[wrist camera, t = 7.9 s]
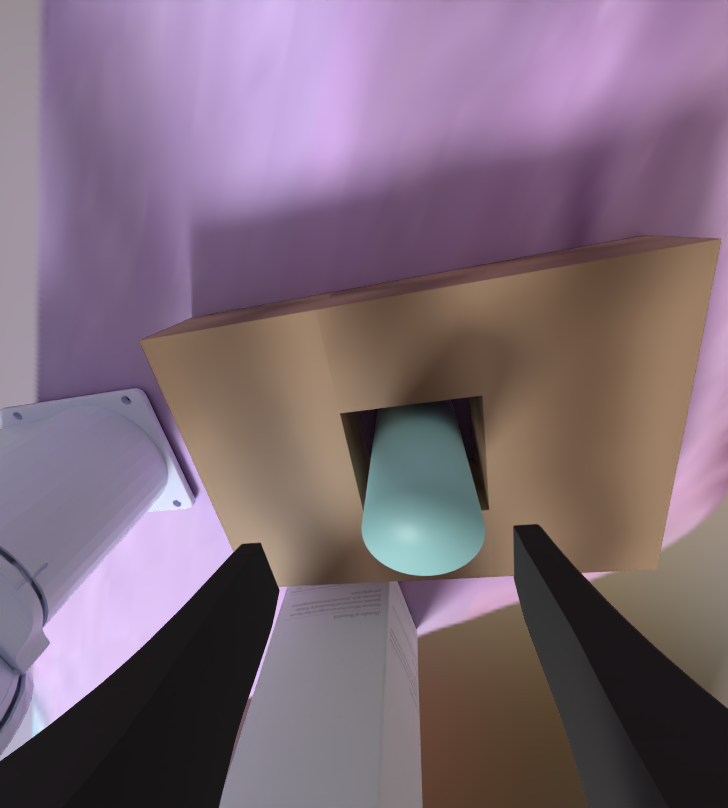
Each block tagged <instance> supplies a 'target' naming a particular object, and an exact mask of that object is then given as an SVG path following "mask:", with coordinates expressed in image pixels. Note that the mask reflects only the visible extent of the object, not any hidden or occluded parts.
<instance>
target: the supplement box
mask: <svg viewBox="0 0 728 808" xmlns="http://www.w3.org/2000/svg"><path fill="white" fill-rule="evenodd" d="M417 655H418V652H417V630H416V628H415V625H414V622H413V619H412V617H411V614H410V612H409V609H408V607H407V604H406V602H405V599H404V597H403V594H402V591H401V589H400V586H399V584H398V581H394V582H372V583H351V584H329V585H308V586H288V587H287V590H286V593H285V596H284V599H283V602H282V606H281V609H280V612H279V615H278V618H277V621H276V624H275V628H274V631H273V634H272V637H271V640H270V644H269V647H268V650H267V653H266V656H265V659H264V663H263V666H262V669H261V672H260V675H259V679H258V682H257V685H256V688H255V691H254V694H253V698H252V701H251V704H250V707H249V710H248V714H247V717H246V720H245V723H244V726H243V730H242V733H241V736H240V739H239V742H238V745H237V749H236V752H235V755H234V758H233V761H232V764H231V767H230V770H229V774H228V777H227V780H226V783H225V787H224V789H223V793H222V797H221V801H220V806H219V808H422V782H421V752H420V723H419V722H420V721H419V695H418V694H419V693H418V656H417Z"/></svg>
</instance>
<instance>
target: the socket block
mask: <svg viewBox="0 0 728 808" xmlns="http://www.w3.org/2000/svg"><path fill="white" fill-rule="evenodd" d="M720 244H721V239H715V238H692V237H669V236H645V235H644V236H639V237H633V238H628V239H622V240H617V241H611V242H606V243H600V244H595V245H589V246H584V247H578V248H573V249H567V250H562V251H556V252H551V253H545V254H540V255H534V256H529V257H523V258H518V259H512V260H507V261H501V262H496V263H490V264H485V265H479V266H474V267H468V268H463V269H457V270H452V271H446V272H441V273H435V274H430V275H424V276H419V277H413V278H408V279H402V280H397V281H391V282H386V283H380V284H375V285H369V286H364V287H358V288H353V289H347V290H342V291H336V292H331V293H325V294H320V295H314V296H309V297H303V298H298V299H292V300H287V301H281V302H276V303H270V304H265V305H259V306H254V307H248V308H243V309H237V310H232V311H227V312H221V313H216V314H210V315H205V316H199V317H194V318H190V319H188V320H185V321H183V322H181V323H179V324H176V325H174V326H172V327H169V328H167V329H165V330H163V331H160V332H158V333H156V334H153V335H151V336H149V337H146V338H144V339H142V340H140V341H139V342H140V344H141V346H142V349H143V351H144V353H145V355H146V358H147V360H148V362H149V364H150V367H151V369H152V371H153V373H154V375H155V378H156V380H157V382H158V384H159V387H160V389H161V391H162V393H163V395H164V398H165V400H166V402H167V404H168V407H169V409H170V411H171V413H172V416H173V418H174V420H175V422H176V424H177V427H178V429H179V431H180V433H181V436H182V438H183V440H184V442H185V445H186V447H187V449H188V451H189V453H190V456H191V458H192V460H193V462H194V465H195V467H196V469H197V471H198V473H199V476H200V478H201V480H202V482H203V485H204V487H205V489H206V491H207V494H208V496H209V498H210V500H211V502H212V505H213V507H214V509H215V511H216V514H217V516H218V518H219V520H220V523H221V525H222V527H223V529H224V531H225V534H226V536H227V538H228V540H229V543H230V545H231V547H232V549H233V551H235V550H236V549H237V548H238V547H239V546H240V545H241V544H246V543H261V544H262V547H263V550H264V552H265V555H266V557H267V560H268V562H269V565H270V567H271V570H272V572H273V575H274V577H275V580H276V583H277V585H278V587H286V586H308V585H329V584H351V583H372V582H394V581H415V580H437V579H458V578H480V577H501V576H514V541H513V526H514V525H529V524H538V525H539V526H541V527H542V528H543V530H544V531H545V532H546V533H547V535H548V536H549V537H550V538H551V539H552V541H553V542H554V543H555V544H556V545H557V547H558V548H559V549H560V550H561V551H562V552H563V554H564V555H565V556H566V557H567V558H568V559H569V560H570V561H571V563H572V564H573V565H574V566H575V567H576V568H577V569H578V570H579V572H580V573H587V572H608V571H627V570H629V571H630V570H651V569H657V566H658V561H659V556H660V551H661V546H662V541H663V536H664V531H665V526H666V520H667V515H668V510H669V505H670V500H671V495H672V490H673V485H674V479H675V474H676V469H677V464H678V459H679V454H680V449H681V444H682V438H683V433H684V428H685V423H686V418H687V413H688V408H689V403H690V397H691V392H692V387H693V382H694V377H695V372H696V367H697V361H698V356H699V351H700V346H701V341H702V336H703V331H704V326H705V320H706V315H707V310H708V305H709V300H710V295H711V290H712V285H713V279H714V274H715V269H716V264H717V259H718V254H719V249H720ZM466 397H469V399H470V412H471V425H472V438H473V452H474V459H468V463H469V467H470V470H471V474H472V478H473V482H474V485H475V489H476V493H477V496H478V500H479V504H480V507H481V511H482V515H483V519H484V523H485V532H486V534H485V540H484V542H483V545H482V547H481V549H480V551H479V552H478V553H477V555H476V556H475V557H474V558H473V559H472V560H471V561H470V562H468V563H467V564H466V565H464V566H462V567H460V568H459V569H456V570H454V571H451V572H448V573H445V574H440V575H433V576H417V575H410V574H406V573H402V572H399V571H396V570H393V569H391V568H389V567H387V566H386V565H384V564H382V563H381V562H380V561H378V560H377V559H376V558H375V557H374V556H373V555H372V554H371V553H370V551H369V550H368V548H367V547H366V545H365V543H364V540H363V537H362V528H361V526H362V519H363V512H364V505H365V497H366V490H367V483H368V476H369V469H370V458H369V453H368V448H367V444H366V439H365V434H364V430H363V425H362V420H361V416H360V411H363V410H371V409H379V408H387V407H395V406H403V405H411V404H419V403H427V402H435V401H442V400H450V399H458V398H466Z"/></svg>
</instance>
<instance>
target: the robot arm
mask: <svg viewBox="0 0 728 808" xmlns="http://www.w3.org/2000/svg"><path fill="white" fill-rule="evenodd" d="M126 397H128V398H129V399H130V401H131V402H130V401H129V400H128V399H127V398H126ZM0 425H1V426H2V429H0V757H1V756H2V754H3V752H4V751H5V749H6V748H7V747H8V745H9V743H10V742H11V740H12V739H13V737H14V735H15V733H16V732H17V730H18V729H19V727H20V725H21V723H22V720H23V719H24V716H25V714H26V712H27V710H28V707H29V704H30V702H31V699H32V694H33V687H34V684H33V677H32V674H31V672H30V670H29V668H30V667H31V665H32V664H33V663H34V662H35V661H36V660H37V658H38V657H39V656H40V655H41V654H42V652H43V651H44V650H45V649H46V648H47V647H48V645H49V644H50V641H49V640H48V639H47V637H46V636H45V634H44V632H43V629H42V628H43V627H44V626H45V625H46V624H47V623H48V622H49V620H50V619H51V618H52V617H53V616H54V615H55V614H56V613H57V611H58V610H59V609H60V608H61V607H62V606H63V605H64V604H65V603H66V601H67V600H68V599H69V598H70V597H71V596H72V595H73V594H74V593H75V591H76V590H77V589H78V588H79V587H80V586H81V585H82V584H83V583H84V581H85V580H86V579H87V578H88V577H89V576H90V575H91V574H92V572H93V571H94V570H95V569H96V568H97V567H98V566H99V565H100V564H101V562H102V561H103V560H104V559H105V558H106V557H107V556H108V555H109V554H110V552H111V551H112V550H113V549H114V548H115V547H116V546H117V545H118V544H119V542H120V541H121V540H122V539H123V538H124V537H125V536H126V535H127V533H128V532H129V531H130V530H131V529H132V528H133V527H134V526H135V525H136V523H137V522H138V521H139V520H140V519H141V518H142V517H143V516H144V515H145V513H146V512H155V511H166V510H177V509H188V508H191V507H192V506H193V505H194V503H195V498H194V496H193V494H192V491H191V489H190V487H189V485H188V483H187V481H186V479H185V477H184V474H183V472H182V470H181V468H180V466H179V464H178V462H177V460H176V457H175V455H174V453H173V451H172V449H171V447H170V445H169V442H168V440H167V438H166V436H165V434H164V432H163V430H162V428H161V425H160V423H159V421H158V419H157V417H156V415H155V413H154V411H153V408H152V406H151V404H150V402H149V400H148V398H147V396H146V394H145V393H144V392H143V391H142V390H140V389H138V388H132V389H126V390H119V391H113V392H106V393H99V394H93V395H86V396H79V397H73V398H66V399H60V400H53V401H46V402H40V403H33V404H27V405H21V406H14V407H7V408H3V409H1V410H0ZM179 501H180V502H179ZM513 541H514V581H515V585H516V589H517V593H518V596H519V600H520V604H521V608H522V612H523V615H524V619H525V622H526V625H527V627H528V630H529V633H530V636H531V638H532V641H533V644H534V646H535V649H536V652H537V655H538V657H539V660H540V663H541V665H542V668H543V671H544V673H545V676H546V679H547V681H548V684H549V687H550V689H551V692H552V695H553V697H554V700H555V703H556V705H557V708H558V710H559V713H560V716H561V719H562V722H563V724H564V728H565V730H566V734H567V737H568V739H569V743H570V746H571V749H572V753H573V756H574V759H575V763H576V766H577V769H578V773H579V777H580V780H581V784H582V787H583V790H584V794H585V797H586V801H587V804H588V808H728V708H726V707H725V706H724V705H723V704H722V703H720V702H719V701H718V700H717V699H716V698H714V697H713V696H712V695H711V694H709V693H708V692H707V691H706V690H704V689H703V688H702V687H701V686H700V685H698V684H697V683H696V682H695V681H694V680H693V679H691V678H690V677H689V676H688V675H687V674H686V673H684V672H683V671H682V670H681V669H680V668H679V667H678V666H676V665H675V664H674V663H673V662H672V661H671V660H669V659H668V658H667V657H666V656H665V655H664V654H663V653H662V652H661V651H659V650H658V649H657V648H656V647H655V646H654V645H653V644H652V643H651V642H649V641H648V640H647V639H646V638H645V637H644V636H643V635H642V634H641V633H640V632H639V631H638V630H637V629H636V628H635V627H634V626H632V625H631V624H630V623H629V622H628V621H627V620H626V619H625V618H624V617H623V616H622V615H621V614H620V613H619V612H618V611H617V610H616V609H615V608H614V607H613V606H612V605H611V604H610V603H609V602H608V601H607V600H606V599H605V598H604V597H603V596H602V595H601V594H600V593H599V592H598V591H597V590H596V588H594V587H593V585H592V584H591V583H590V582H589V581H588V580H587V579H586V578H585V577H584V576H583V575H582V574H581V573H580V572H579V570H578V569H577V568H576V567H575V566H574V565H573V564H572V563H571V561H570V560H569V559H568V558H567V557H566V556H565V555H564V554H563V552H562V551H561V550H560V549H559V548H558V547H557V545H556V544H555V543H554V542H553V541H552V539H551V538H550V537H549V536H548V535H547V533H546V532H545V531H544V530H543V528H542V527H541V526H539V525H538V524H529V525H514V526H513ZM278 595H279V588H278V585H277V583H276V580H275V577H274V575H273V572H272V570H271V567H270V565H269V562H268V560H267V557H266V555H265V552H264V550H263V547H262V544H261V543H246V544H241V545H240V546H239V547H238V548H237V549H236V550H235V551H234V552H233V553H232V555H231V556H230V557H229V558H228V559H227V560H226V561H225V562H224V563H223V564H222V565H221V566H220V567H219V569H218V570H217V571H216V572H215V573H214V574H213V575H212V576H211V577H210V578H209V579H208V581H207V582H206V583H205V584H204V585H203V586H202V587H201V588H200V589H199V590H198V591H197V592H196V593H195V594H194V595H193V597H192V598H191V599H190V600H189V601H188V602H187V603H186V604H185V605H184V606H183V607H182V608H181V609H180V610H179V611H178V612H177V613H176V614H175V615H174V616H173V617H172V618H171V619H170V620H169V621H168V622H167V623H166V624H165V625H164V626H163V627H162V628H161V629H160V630H159V631H158V632H157V633H156V634H155V635H154V636H153V637H152V638H151V639H150V640H149V641H148V642H147V643H146V644H145V645H144V646H143V647H142V648H141V649H140V650H138V651H137V652H136V653H135V654H134V655H133V656H132V657H131V658H130V659H129V660H128V661H126V662H125V663H124V664H123V665H122V666H121V667H120V668H118V669H117V670H116V671H115V672H114V673H113V674H112V675H110V676H109V677H108V678H107V679H106V680H105V681H104V682H102V683H101V684H100V685H99V686H98V687H96V688H95V689H94V690H93V691H91V692H90V693H89V694H88V695H86V696H85V697H84V698H83V699H81V700H80V701H79V702H78V703H76V704H75V705H74V706H73V707H71V708H70V709H69V710H68V711H67V712H65V713H64V714H63V715H62V716H60V717H59V718H58V719H57V720H55V721H54V722H53V723H51V724H50V725H49V726H48V727H46V728H45V729H44V730H42V731H41V732H40V733H38V734H37V735H36V736H34V737H33V738H32V739H30V740H29V741H27V742H26V743H25V744H24V745H22V746H21V747H19V748H18V749H17V750H15V751H14V752H12V753H11V754H10V755H8V756H7V757H5V758H4V759H3V760H1V761H0V808H219V806H220V801H221V797H222V792H223V788H224V783H225V779H226V775H227V771H228V767H229V763H230V759H231V755H232V751H233V747H234V743H235V739H236V735H237V732H238V729H239V725H240V722H241V718H242V715H243V712H244V709H245V706H246V703H247V700H248V697H249V694H250V691H251V688H252V686H253V683H254V680H255V677H256V674H257V671H258V668H259V665H260V662H261V659H262V656H263V653H264V650H265V647H266V644H267V640H268V637H269V634H270V631H271V628H272V624H273V619H274V615H275V610H276V605H277V600H278Z"/></svg>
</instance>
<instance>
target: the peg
mask: <svg viewBox="0 0 728 808" xmlns="http://www.w3.org/2000/svg"><path fill="white" fill-rule="evenodd" d="M361 528H362V537H363V540H364V543H365V545H366V547H367V548H368V550H369V551H370V553H371V554H372V555H373V556H374V557H375V558H376V559H377V560H378V561H380V562H381V563H382V564H384V565H386V566H387V567H389V568H391V569H393V570H396V571H399V572H402V573H406V574H410V575H417V576H433V575H440V574H445V573H448V572H451V571H454V570H456V569H459V568H460V567H462V566H464V565H466V564H467V563H468V562H470V561H471V560H472V559H473V558H474V557H475V556H476V555H477V553H478V552H479V551H480V549H481V547H482V545H483V542H484V540H485V534H486V532H485V523H484V519H483V515H482V511H481V507H480V504H479V500H478V496H477V493H476V489H475V485H474V482H473V478H472V474H471V470H470V467H469V463H468V459H467V456H466V452H465V448H464V445H463V441H462V437H461V433H460V430H459V426H458V422H457V419H456V415H455V411H454V408H453V405H452V403H451V401H450V400H442V401H435V402H427V403H419V404H411V405H403V406H395V407H387V408H379V409H378V411H377V418H376V425H375V432H374V440H373V447H372V454H371V461H370V469H369V476H368V483H367V490H366V497H365V505H364V512H363V519H362V526H361Z"/></svg>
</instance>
